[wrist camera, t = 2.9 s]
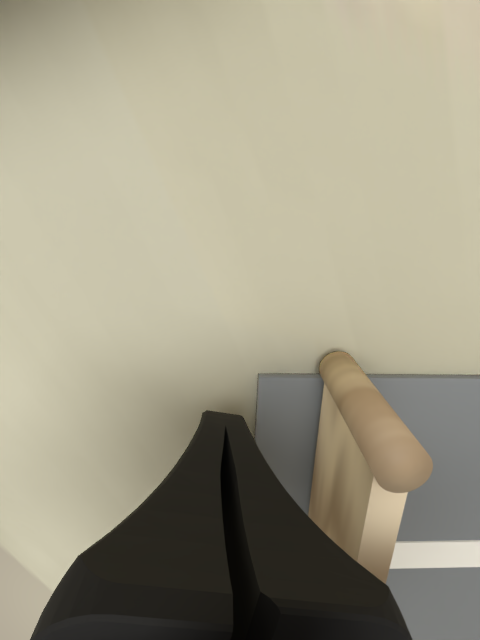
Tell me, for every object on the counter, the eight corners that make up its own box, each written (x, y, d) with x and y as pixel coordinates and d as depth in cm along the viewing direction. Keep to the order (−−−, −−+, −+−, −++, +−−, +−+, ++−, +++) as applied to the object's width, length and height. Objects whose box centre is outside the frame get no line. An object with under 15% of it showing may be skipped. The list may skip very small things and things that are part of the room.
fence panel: (327, 543, 17) (373, 696, 12) (299, 544, 17) (331, 697, 11) (357, 351, 13) (438, 446, 8) (320, 351, 13) (380, 446, 8)
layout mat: (630, 376, 15) (641, 380, 14) (506, 653, 21) (511, 661, 21) (258, 373, 14) (259, 378, 14) (243, 661, 20) (244, 669, 20)
